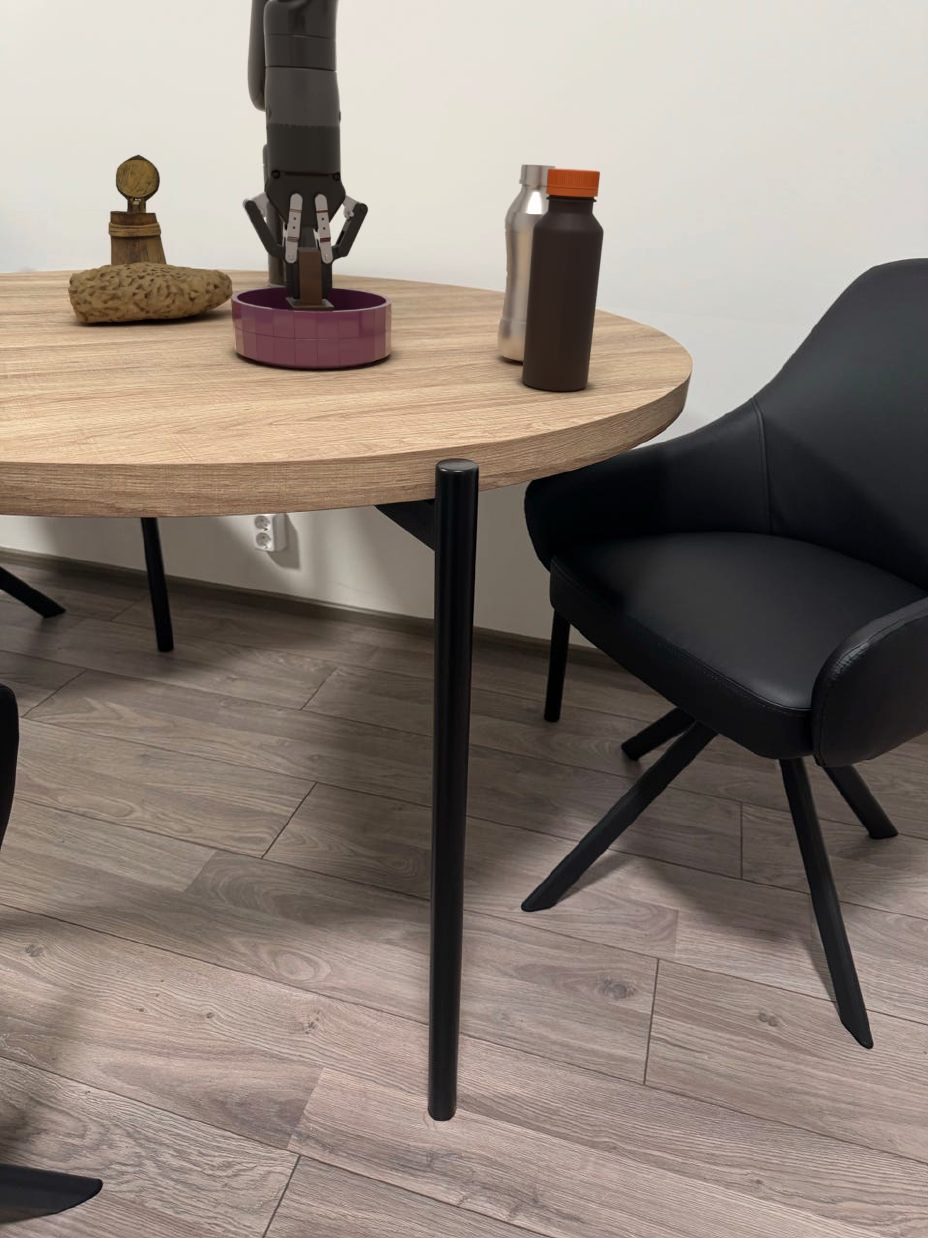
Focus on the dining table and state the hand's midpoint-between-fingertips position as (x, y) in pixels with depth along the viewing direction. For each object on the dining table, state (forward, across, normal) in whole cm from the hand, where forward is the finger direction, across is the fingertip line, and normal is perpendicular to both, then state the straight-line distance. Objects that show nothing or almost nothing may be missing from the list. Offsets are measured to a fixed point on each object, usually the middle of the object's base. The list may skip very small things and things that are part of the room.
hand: (308, 297), depth 101 cm
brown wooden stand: (+6, +17, -40) cm, 44 cm away
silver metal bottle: (+6, -23, +8) cm, 25 cm away
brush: (+4, 0, 0) cm, 4 cm away
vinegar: (+6, -22, +19) cm, 30 cm away
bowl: (+6, 0, +2) cm, 6 cm away
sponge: (+6, +16, -21) cm, 27 cm away
